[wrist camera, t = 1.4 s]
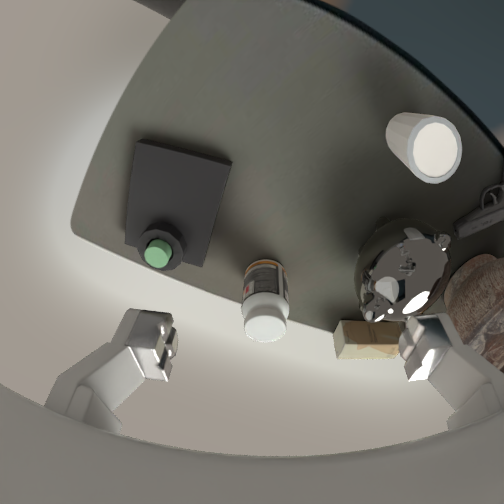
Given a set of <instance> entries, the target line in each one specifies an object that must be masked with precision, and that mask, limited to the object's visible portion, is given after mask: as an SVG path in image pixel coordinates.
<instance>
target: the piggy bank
mask: <svg viewBox="0 0 504 504" xmlns="http://www.w3.org/2000/svg"><path fill="white" fill-rule="evenodd" d="M376 230H377V231H376V232H375V233H374V234H373V235H372V236H371V237H370V238H369V240H368V241H367V243H366V244H365V246H362V247H361V248H360V249H359V251H358V254H359V258H358V260H357V263H356V267H355V273H354V286H355V291H356V294H357V297H358V299H359V308H360V310H361V311H362V314H363V317H364V319H365V320H366V321H367V322H370V323H375V322H379V321H381V320H385V321H390V322H399V321H404V322H405V327H406V328H408V326H407V324H406V323H407V321H408V319H409V318H410V317H411V316H412V315H423V312H424V311H425V310H427V309H428V308H429V307H430V306H431V305H432V304H433V303H434V302H435V301H436V300H437V299H438V298H439V296H440V295H441V294H442V292H443V291H444V289H445V287H446V285H447V283H448V280H449V278H450V274H451V255H450V251H449V249H450V247H451V237H450V235H449V234H448V233H447V232H444V231H436V230H435V229H434V228H433V227H431V226H430V225H428V224H426V223H424V222H422V221H419V220H416V219H410V218H403V219H397V220H393V221H390V220H389V219H388V218H386V217H380V218H379V219H378V220H377V221H376Z"/></svg>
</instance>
